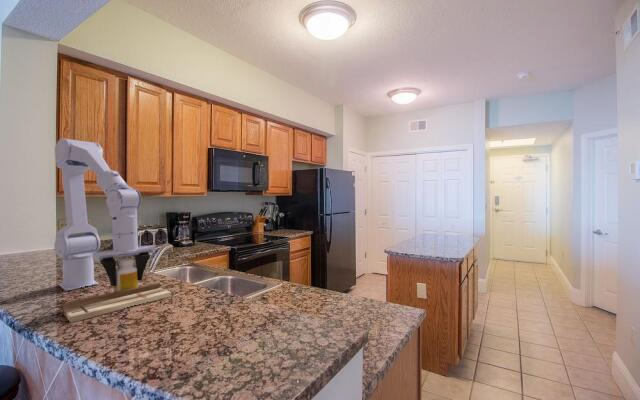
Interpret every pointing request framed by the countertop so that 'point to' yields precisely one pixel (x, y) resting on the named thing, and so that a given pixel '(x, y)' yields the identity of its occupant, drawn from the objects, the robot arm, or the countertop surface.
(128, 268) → the supplement bottle
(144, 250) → the robot arm
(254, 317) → the countertop surface
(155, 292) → the board
